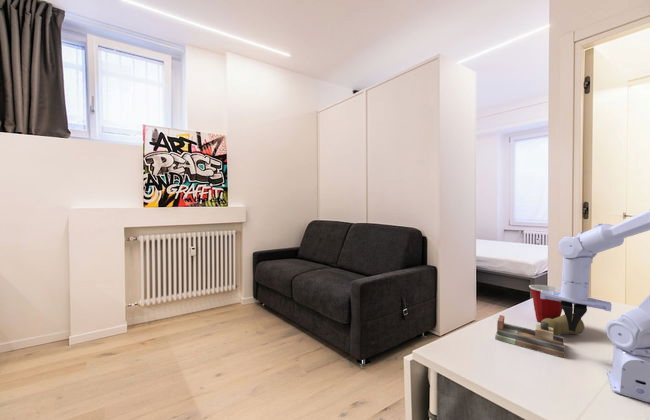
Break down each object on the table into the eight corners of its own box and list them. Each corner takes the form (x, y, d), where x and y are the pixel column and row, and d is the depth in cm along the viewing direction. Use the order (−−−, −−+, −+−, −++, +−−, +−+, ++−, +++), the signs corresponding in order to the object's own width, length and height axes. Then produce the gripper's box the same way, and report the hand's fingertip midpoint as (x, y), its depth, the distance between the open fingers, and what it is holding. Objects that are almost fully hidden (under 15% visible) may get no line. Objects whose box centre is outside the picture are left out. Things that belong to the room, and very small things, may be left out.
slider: (552, 340, 85) (553, 322, 84) (552, 346, 81) (553, 327, 81) (535, 336, 87) (536, 318, 87) (534, 341, 84) (535, 323, 83)
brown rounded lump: (585, 336, 89) (556, 342, 87) (564, 329, 95) (537, 334, 92) (583, 316, 89) (554, 321, 87) (563, 310, 95) (535, 315, 93)
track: (563, 343, 85) (564, 327, 85) (564, 357, 78) (565, 339, 78) (499, 328, 95) (500, 312, 95) (495, 339, 88) (495, 322, 87)
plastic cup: (557, 317, 104) (559, 283, 103) (574, 331, 93) (576, 294, 92) (522, 313, 106) (523, 281, 106) (534, 326, 96) (536, 290, 95)
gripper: (609, 282, 78) (606, 332, 79) (542, 272, 87) (539, 317, 88) (614, 289, 73) (610, 342, 74) (541, 278, 81) (538, 326, 82)
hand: (571, 329), depth 80 cm, fingers closed
